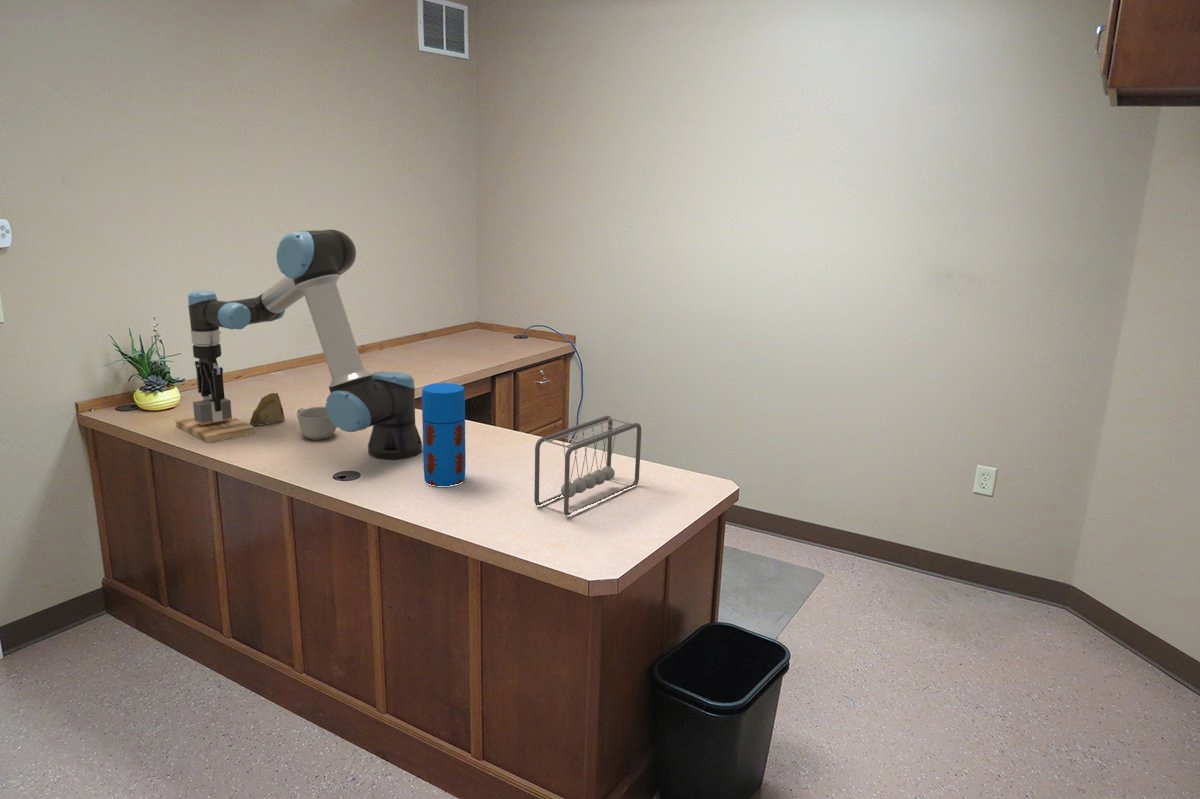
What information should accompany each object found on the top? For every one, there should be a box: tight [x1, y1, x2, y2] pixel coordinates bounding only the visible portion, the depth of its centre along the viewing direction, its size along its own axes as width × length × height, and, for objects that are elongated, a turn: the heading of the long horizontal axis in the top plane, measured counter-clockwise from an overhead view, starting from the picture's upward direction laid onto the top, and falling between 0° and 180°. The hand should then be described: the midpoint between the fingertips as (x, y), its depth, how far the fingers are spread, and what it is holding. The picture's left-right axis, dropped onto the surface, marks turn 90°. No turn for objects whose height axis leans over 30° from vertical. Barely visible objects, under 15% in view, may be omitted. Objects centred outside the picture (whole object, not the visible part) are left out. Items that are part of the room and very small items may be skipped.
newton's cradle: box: [533, 415, 642, 516], centre depth 205 cm, size 30×10×18 cm, turn 142°
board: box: [175, 416, 256, 444], centre depth 249 cm, size 22×14×2 cm, turn 48°
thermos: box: [421, 382, 467, 486], centre depth 212 cm, size 11×11×25 cm
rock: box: [249, 392, 285, 427], centre depth 258 cm, size 11×9×10 cm
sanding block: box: [192, 397, 233, 425], centre depth 248 cm, size 5×9×6 cm, turn 138°
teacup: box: [296, 406, 337, 441], centre depth 246 cm, size 14×11×8 cm
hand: (213, 418), depth 249 cm, fingers closed on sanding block, 5 cm apart
